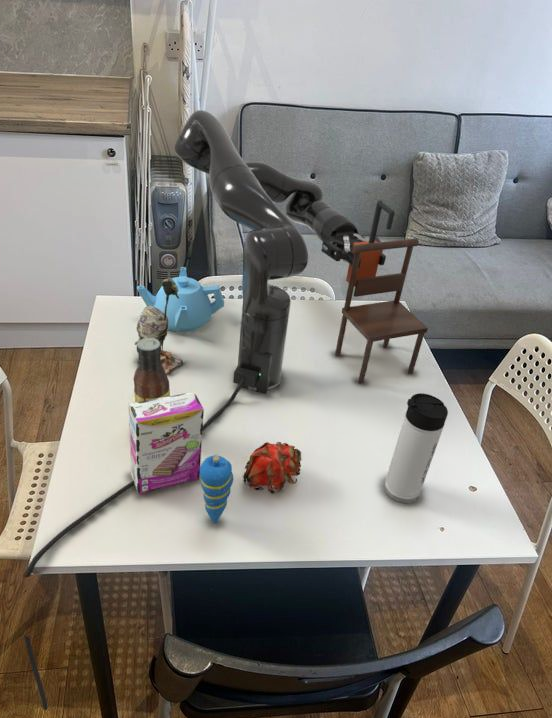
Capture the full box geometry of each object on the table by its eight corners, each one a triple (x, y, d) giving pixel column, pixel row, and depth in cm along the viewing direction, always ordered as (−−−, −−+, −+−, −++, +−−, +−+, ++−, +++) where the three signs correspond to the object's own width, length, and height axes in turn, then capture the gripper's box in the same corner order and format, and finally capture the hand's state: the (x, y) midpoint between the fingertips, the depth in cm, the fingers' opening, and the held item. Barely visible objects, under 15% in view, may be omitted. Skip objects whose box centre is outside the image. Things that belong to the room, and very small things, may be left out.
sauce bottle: (176, 427, 120) (177, 339, 108) (162, 447, 116) (161, 358, 103) (145, 417, 122) (142, 329, 110) (130, 437, 117) (125, 348, 105)
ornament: (225, 537, 101) (230, 470, 92) (193, 530, 101) (196, 463, 92) (232, 513, 105) (238, 447, 96) (202, 507, 106) (205, 440, 96)
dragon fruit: (302, 477, 115) (247, 508, 110) (279, 435, 116) (223, 465, 111) (320, 469, 107) (262, 503, 103) (296, 425, 108) (237, 456, 103)
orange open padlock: (385, 294, 138) (405, 209, 126) (363, 297, 136) (382, 212, 124) (367, 277, 143) (385, 194, 131) (345, 280, 142) (362, 196, 130)
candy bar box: (138, 496, 106) (135, 422, 96) (130, 476, 110) (126, 402, 99) (201, 480, 110) (205, 407, 100) (192, 461, 114) (194, 389, 103)
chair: (416, 373, 141) (449, 263, 124) (356, 385, 136) (383, 271, 119) (388, 344, 149) (415, 236, 132) (330, 353, 144) (351, 243, 127)
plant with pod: (155, 343, 142) (153, 261, 129) (188, 366, 136) (190, 282, 124) (125, 356, 137) (120, 272, 125) (158, 380, 131) (157, 295, 119)
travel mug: (378, 477, 114) (403, 389, 102) (413, 477, 115) (443, 390, 102) (386, 503, 109) (414, 415, 97) (423, 503, 110) (456, 415, 98)
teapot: (180, 345, 142) (181, 303, 135) (135, 318, 149) (134, 277, 142) (227, 320, 152) (229, 280, 145) (182, 296, 159) (183, 257, 152)
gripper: (358, 242, 152) (395, 275, 141) (304, 247, 148) (338, 282, 136) (364, 212, 148) (403, 243, 136) (308, 216, 143) (344, 250, 131)
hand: (370, 262), depth 136 cm, fingers closed on orange open padlock, 5 cm apart
